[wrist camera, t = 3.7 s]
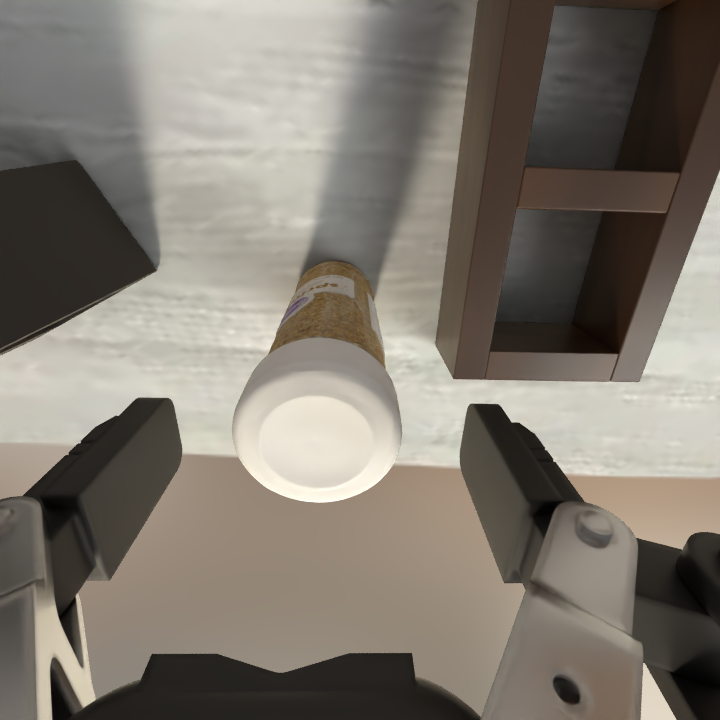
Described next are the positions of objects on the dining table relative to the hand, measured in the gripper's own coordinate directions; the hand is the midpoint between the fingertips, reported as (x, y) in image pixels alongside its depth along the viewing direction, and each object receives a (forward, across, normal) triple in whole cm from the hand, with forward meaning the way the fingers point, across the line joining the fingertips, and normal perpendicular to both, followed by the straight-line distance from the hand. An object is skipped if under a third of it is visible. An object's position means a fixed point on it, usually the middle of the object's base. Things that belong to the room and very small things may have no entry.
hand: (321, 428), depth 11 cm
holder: (+13, -11, -6) cm, 18 cm away
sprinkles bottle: (+13, 0, 0) cm, 13 cm away
